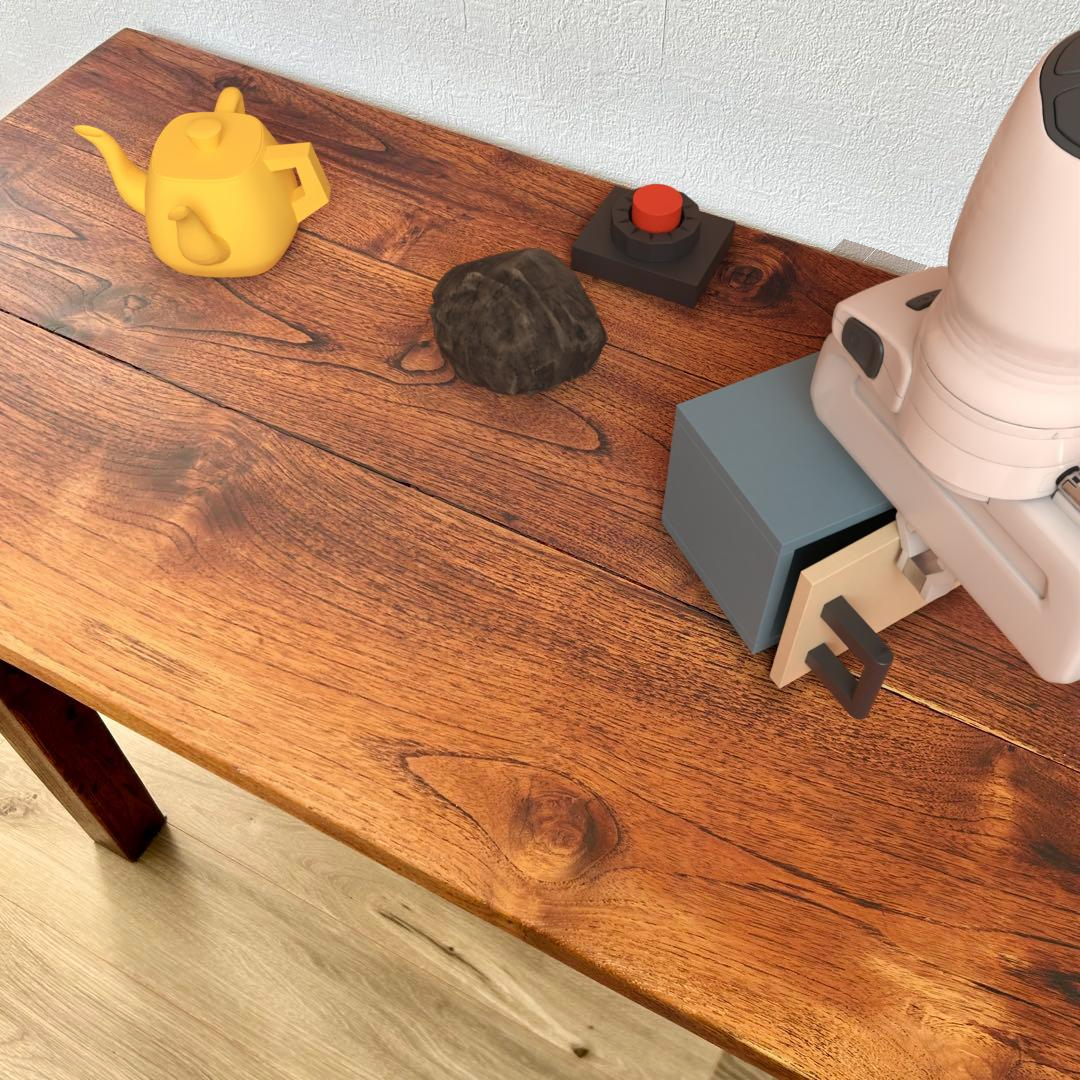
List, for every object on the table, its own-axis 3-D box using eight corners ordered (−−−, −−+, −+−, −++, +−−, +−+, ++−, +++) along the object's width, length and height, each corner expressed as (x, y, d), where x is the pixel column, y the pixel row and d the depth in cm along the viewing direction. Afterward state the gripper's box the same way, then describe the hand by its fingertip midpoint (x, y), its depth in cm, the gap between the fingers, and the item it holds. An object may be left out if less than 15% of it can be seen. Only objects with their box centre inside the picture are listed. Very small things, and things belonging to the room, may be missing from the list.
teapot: (109, 232, 94) (68, 121, 86) (254, 161, 99) (229, 50, 91) (203, 325, 88) (170, 215, 80) (353, 245, 93) (336, 133, 85)
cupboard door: (1038, 625, 73) (1105, 516, 64) (830, 751, 68) (872, 651, 59) (973, 560, 76) (1029, 447, 67) (768, 676, 71) (800, 570, 62)
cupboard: (970, 558, 76) (1027, 442, 67) (752, 655, 72) (782, 545, 63) (867, 438, 82) (907, 317, 73) (660, 522, 77) (676, 404, 69)
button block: (732, 244, 93) (739, 201, 90) (694, 308, 89) (699, 266, 86) (613, 207, 96) (616, 165, 93) (570, 268, 92) (571, 226, 89)
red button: (687, 211, 90) (690, 191, 89) (669, 239, 88) (671, 220, 87) (643, 197, 91) (644, 178, 90) (623, 225, 89) (625, 206, 88)
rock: (638, 359, 85) (621, 249, 77) (514, 451, 82) (483, 346, 74) (547, 294, 90) (522, 185, 82) (428, 378, 87) (390, 273, 79)
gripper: (1234, 544, 49) (1103, 712, 60) (921, 245, 60) (860, 434, 71) (1114, 602, 47) (1002, 763, 58) (814, 283, 58) (768, 470, 69)
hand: (922, 580), depth 65 cm, fingers closed
